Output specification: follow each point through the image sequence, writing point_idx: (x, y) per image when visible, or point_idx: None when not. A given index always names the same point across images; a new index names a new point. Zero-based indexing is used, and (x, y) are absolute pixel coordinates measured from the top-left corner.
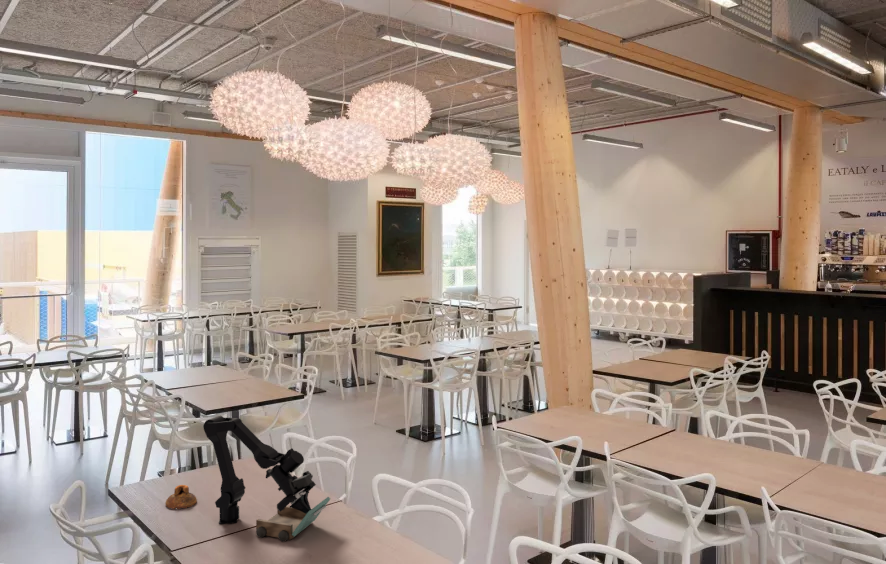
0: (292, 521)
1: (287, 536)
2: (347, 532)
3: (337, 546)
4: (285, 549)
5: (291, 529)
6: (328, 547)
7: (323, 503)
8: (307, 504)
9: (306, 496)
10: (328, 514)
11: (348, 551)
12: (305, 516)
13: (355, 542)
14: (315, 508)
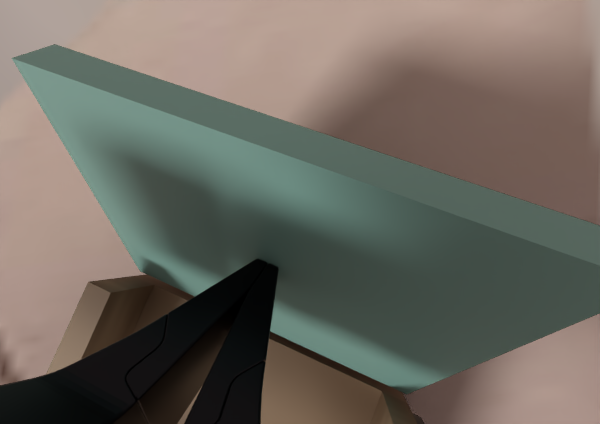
0: (186, 413)
1: (420, 422)
2: (285, 63)
3: (463, 89)
4: (520, 401)
5: (407, 417)
6: (478, 135)
7: (207, 100)
8: (198, 337)
9: (41, 420)
10: (49, 194)
11: (525, 23)
12: (561, 318)
13: (410, 5)
14: (421, 181)
